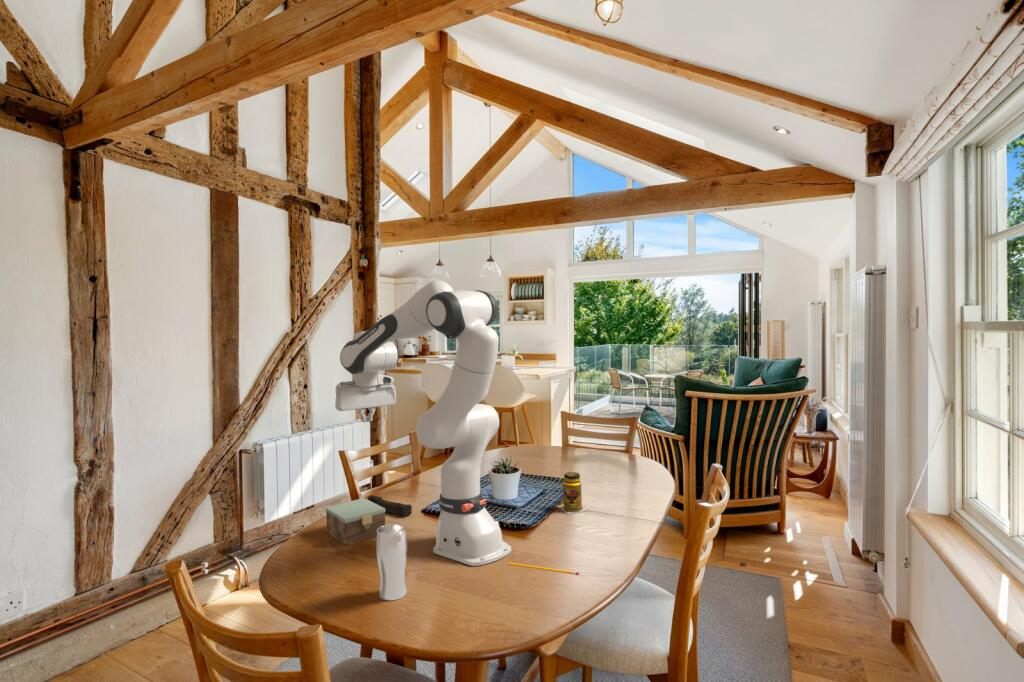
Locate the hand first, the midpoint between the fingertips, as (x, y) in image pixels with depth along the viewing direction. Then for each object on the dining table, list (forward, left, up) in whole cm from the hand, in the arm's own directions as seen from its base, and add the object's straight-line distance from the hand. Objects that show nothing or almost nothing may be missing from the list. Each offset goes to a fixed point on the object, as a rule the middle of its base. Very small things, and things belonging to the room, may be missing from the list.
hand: (367, 421), depth 166 cm
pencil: (-67, -13, -32) cm, 75 cm away
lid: (-11, +10, -26) cm, 30 cm away
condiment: (-44, -51, -31) cm, 74 cm away
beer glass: (-51, +20, -31) cm, 63 cm away
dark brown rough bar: (-2, -5, -32) cm, 32 cm away
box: (-11, +10, -31) cm, 34 cm away
